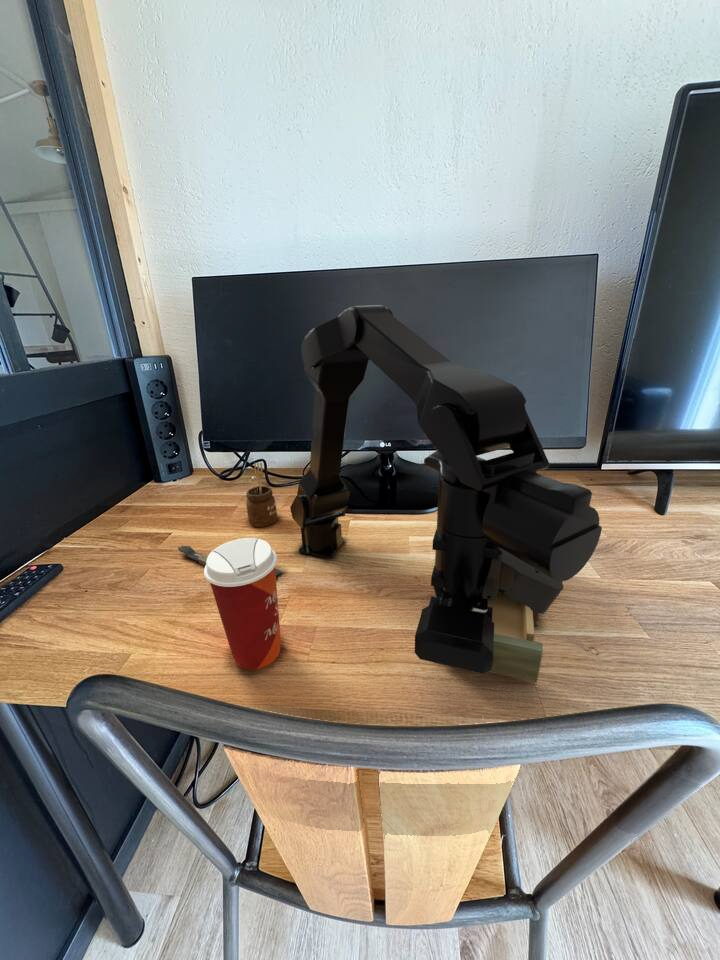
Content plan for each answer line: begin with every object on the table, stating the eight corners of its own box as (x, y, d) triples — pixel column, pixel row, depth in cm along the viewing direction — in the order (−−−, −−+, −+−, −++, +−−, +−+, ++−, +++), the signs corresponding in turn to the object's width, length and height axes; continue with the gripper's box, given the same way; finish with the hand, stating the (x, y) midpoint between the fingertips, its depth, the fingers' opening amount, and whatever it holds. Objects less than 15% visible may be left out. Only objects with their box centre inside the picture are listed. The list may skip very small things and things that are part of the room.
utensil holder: (246, 529, 81) (237, 474, 76) (251, 514, 87) (243, 463, 82) (276, 526, 82) (268, 472, 77) (279, 512, 87) (272, 461, 83)
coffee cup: (297, 661, 50) (284, 561, 44) (230, 688, 47) (206, 584, 41) (279, 619, 57) (265, 528, 51) (220, 640, 54) (197, 545, 48)
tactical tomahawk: (283, 575, 67) (283, 570, 67) (254, 595, 62) (253, 589, 62) (204, 540, 78) (204, 535, 78) (173, 554, 73) (172, 549, 72)
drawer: (537, 692, 44) (544, 659, 42) (433, 667, 47) (435, 636, 46) (531, 604, 57) (535, 576, 55) (449, 590, 60) (451, 563, 58)
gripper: (581, 605, 26) (545, 756, 33) (553, 490, 43) (533, 605, 49) (415, 576, 30) (411, 717, 36) (447, 479, 46) (441, 589, 52)
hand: (457, 647), depth 43 cm, fingers closed
